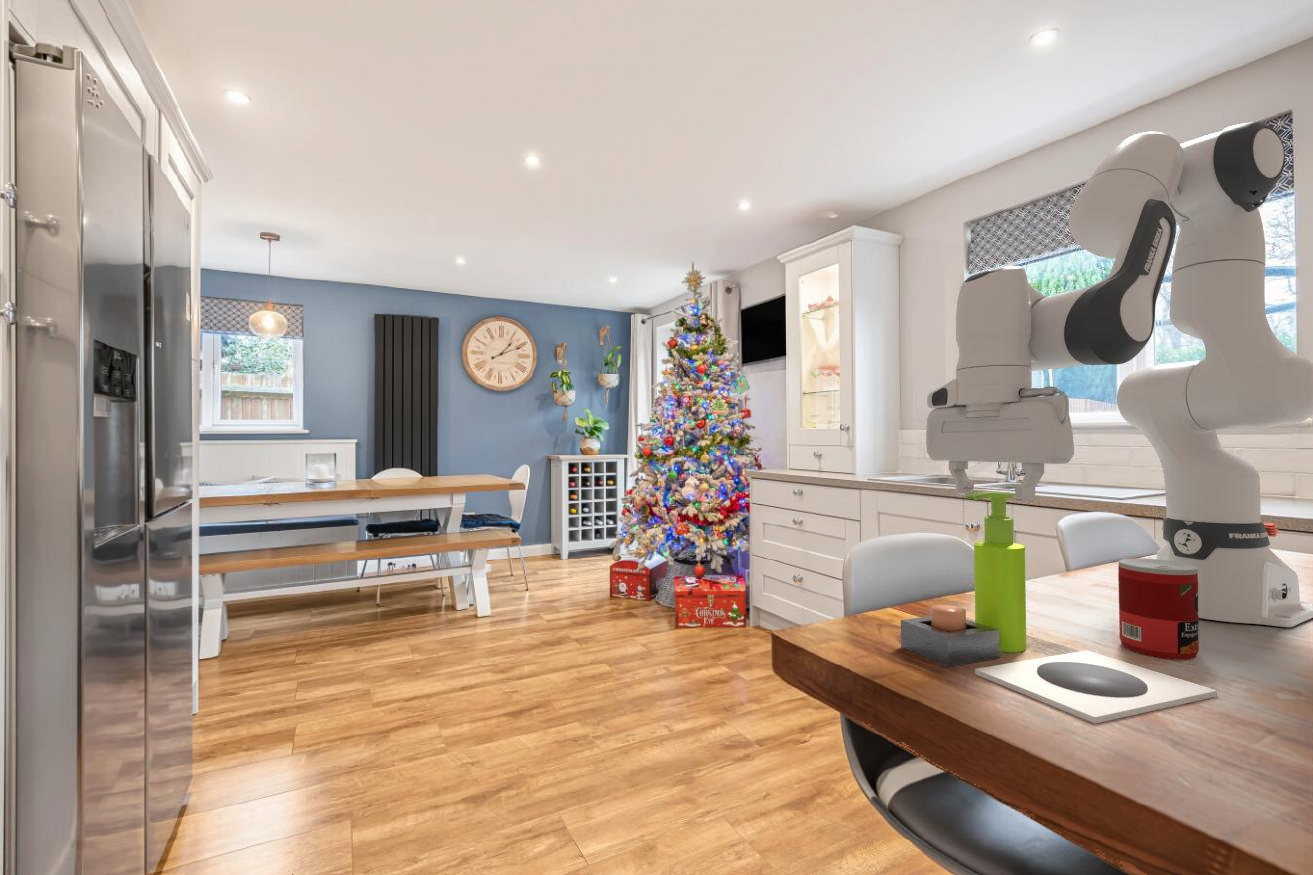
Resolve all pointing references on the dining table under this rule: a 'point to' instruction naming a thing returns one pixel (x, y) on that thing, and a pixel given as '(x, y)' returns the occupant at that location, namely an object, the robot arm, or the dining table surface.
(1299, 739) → the dining table surface
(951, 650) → the button housing
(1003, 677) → the white tray
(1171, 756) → the dining table surface
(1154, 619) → the canned food
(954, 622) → the button
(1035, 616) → the dining table surface
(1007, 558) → the soap dispenser
